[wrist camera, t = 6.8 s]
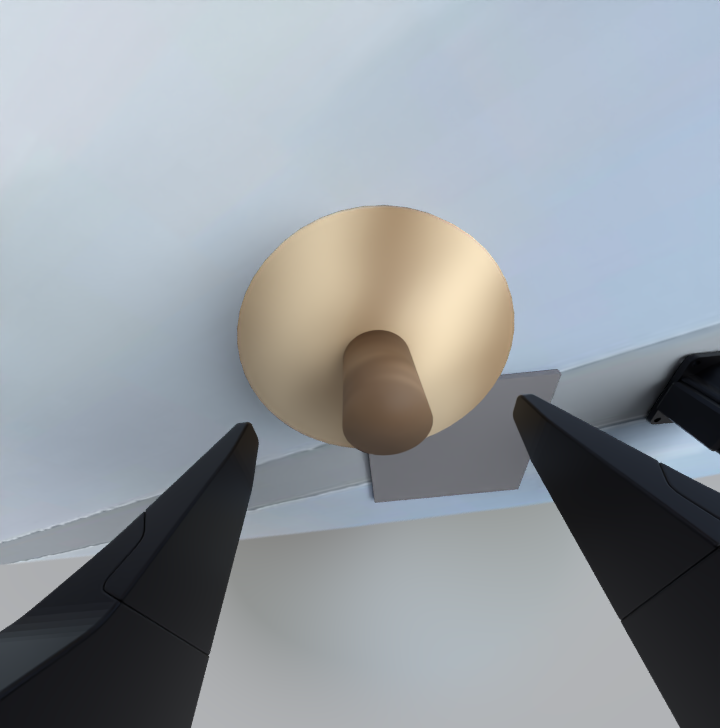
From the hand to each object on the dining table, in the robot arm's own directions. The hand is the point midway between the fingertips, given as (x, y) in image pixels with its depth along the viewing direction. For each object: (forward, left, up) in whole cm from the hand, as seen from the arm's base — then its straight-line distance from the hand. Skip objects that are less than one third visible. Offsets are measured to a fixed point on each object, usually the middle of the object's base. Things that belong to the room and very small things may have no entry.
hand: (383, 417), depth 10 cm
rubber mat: (-6, +13, -9) cm, 17 cm away
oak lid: (0, 0, -4) cm, 5 cm away
